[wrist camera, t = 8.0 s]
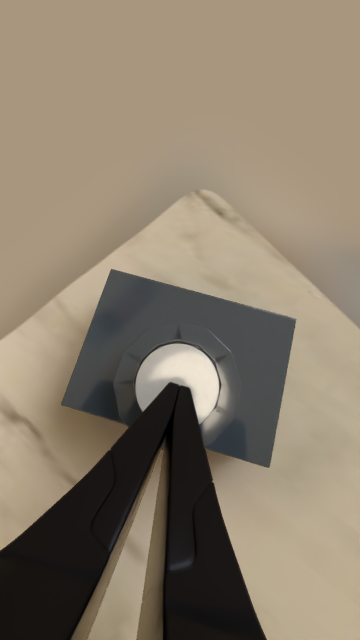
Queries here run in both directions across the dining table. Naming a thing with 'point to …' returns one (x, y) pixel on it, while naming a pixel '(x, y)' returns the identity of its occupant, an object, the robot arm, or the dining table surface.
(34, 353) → the dining table surface
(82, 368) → the grey push button box
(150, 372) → the white push button
